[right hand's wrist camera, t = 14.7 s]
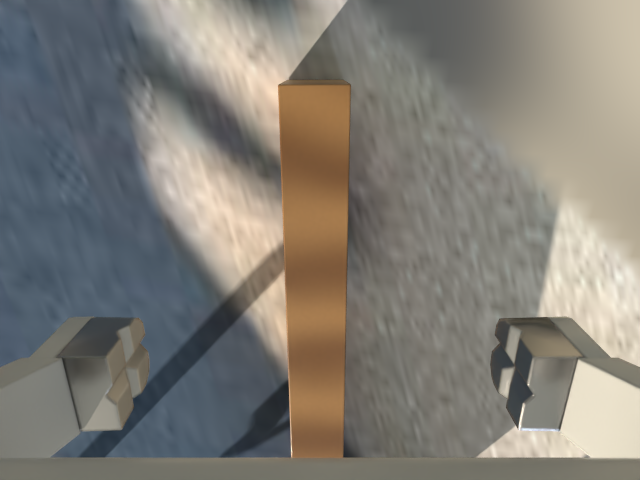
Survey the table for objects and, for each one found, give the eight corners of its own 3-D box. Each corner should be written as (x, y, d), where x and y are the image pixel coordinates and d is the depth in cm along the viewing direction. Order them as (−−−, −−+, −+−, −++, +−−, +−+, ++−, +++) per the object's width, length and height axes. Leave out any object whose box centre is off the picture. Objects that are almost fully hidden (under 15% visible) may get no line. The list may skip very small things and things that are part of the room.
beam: (286, 79, 39) (278, 84, 30) (344, 79, 39) (350, 84, 30) (300, 567, 62) (298, 644, 53) (336, 567, 62) (339, 644, 53)
